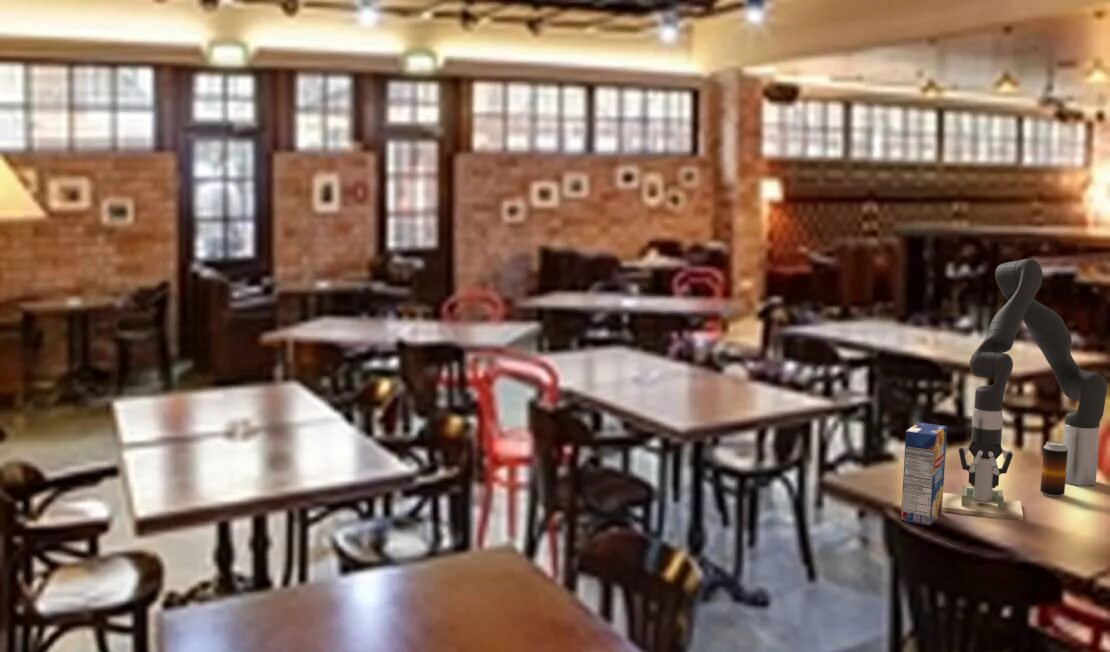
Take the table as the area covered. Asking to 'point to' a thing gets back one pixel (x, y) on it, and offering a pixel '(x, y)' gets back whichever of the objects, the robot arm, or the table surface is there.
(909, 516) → the juice carton
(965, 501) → the rest
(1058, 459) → the beverage can
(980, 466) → the white cylinder
